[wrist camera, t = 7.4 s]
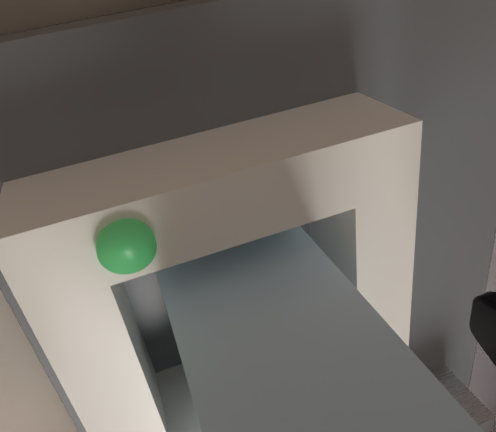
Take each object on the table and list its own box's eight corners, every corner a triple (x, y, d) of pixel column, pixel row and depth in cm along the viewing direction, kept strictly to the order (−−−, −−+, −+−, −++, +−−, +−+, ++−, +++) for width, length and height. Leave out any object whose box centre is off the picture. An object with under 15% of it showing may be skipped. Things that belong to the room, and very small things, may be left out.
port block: (357, 91, 11) (429, 123, 9) (361, 332, 15) (410, 394, 13) (3, 182, 9) (-16, 250, 7) (117, 426, 13) (127, 515, 11)
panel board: (505, -60, 12) (546, -63, 11) (438, 446, 23) (455, 468, 22) (-100, 54, 9) (-122, 66, 8) (167, 571, 20) (172, 603, 19)
